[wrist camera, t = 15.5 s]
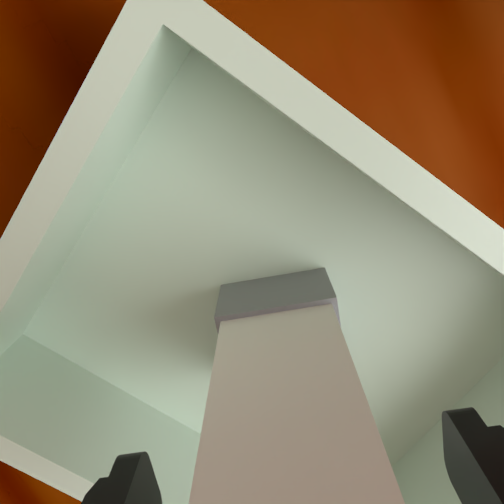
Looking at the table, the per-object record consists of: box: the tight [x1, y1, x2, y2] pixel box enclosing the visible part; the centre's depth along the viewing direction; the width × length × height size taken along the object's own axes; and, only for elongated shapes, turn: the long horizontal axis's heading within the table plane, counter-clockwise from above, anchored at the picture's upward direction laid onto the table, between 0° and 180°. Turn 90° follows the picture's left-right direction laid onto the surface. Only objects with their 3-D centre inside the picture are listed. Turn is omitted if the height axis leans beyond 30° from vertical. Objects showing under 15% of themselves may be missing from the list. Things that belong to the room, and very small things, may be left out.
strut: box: [189, 267, 405, 504], centre depth 13 cm, size 4×4×12 cm
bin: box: [0, 0, 504, 504], centre depth 17 cm, size 20×16×6 cm
